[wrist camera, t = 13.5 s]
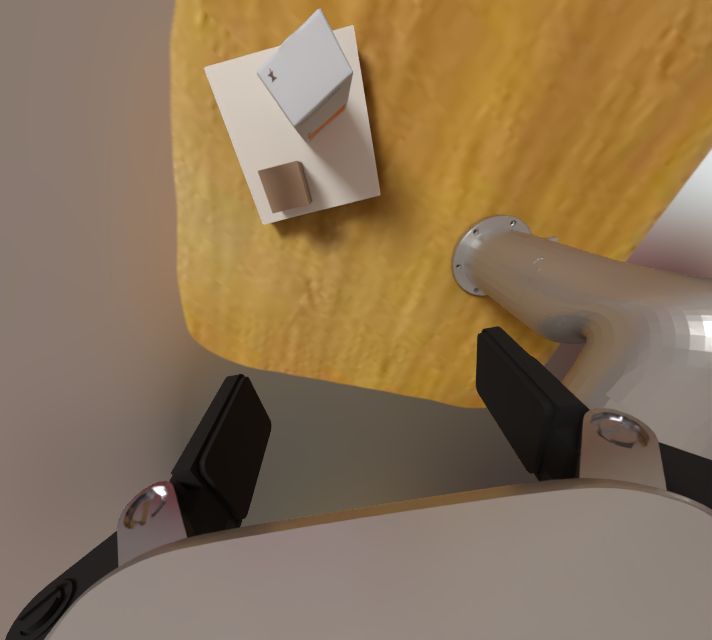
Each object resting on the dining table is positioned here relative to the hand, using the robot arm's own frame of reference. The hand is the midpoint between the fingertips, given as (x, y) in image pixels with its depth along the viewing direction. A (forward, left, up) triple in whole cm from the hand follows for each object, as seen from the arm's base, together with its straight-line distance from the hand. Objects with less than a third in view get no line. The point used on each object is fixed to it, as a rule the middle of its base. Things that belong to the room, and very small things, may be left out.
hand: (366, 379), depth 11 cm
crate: (+5, -7, -29) cm, 31 cm away
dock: (+2, -12, -32) cm, 35 cm away
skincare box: (0, -14, -30) cm, 33 cm away
